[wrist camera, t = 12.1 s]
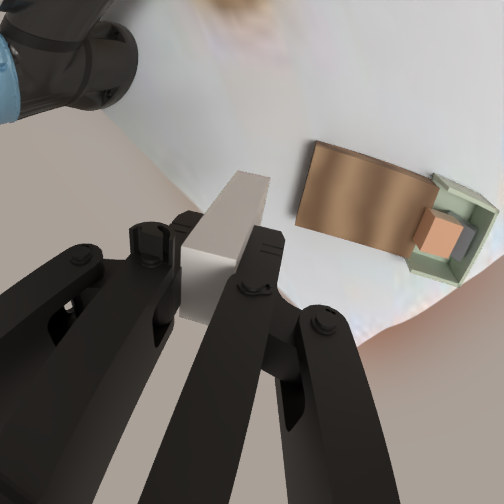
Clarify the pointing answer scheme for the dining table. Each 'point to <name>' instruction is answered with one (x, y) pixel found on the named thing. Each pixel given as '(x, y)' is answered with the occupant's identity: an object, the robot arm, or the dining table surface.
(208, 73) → the dining table surface
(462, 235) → the grey square block
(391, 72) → the dining table surface
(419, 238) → the peach square block
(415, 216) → the walnut board
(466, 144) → the dining table surface
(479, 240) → the tray
